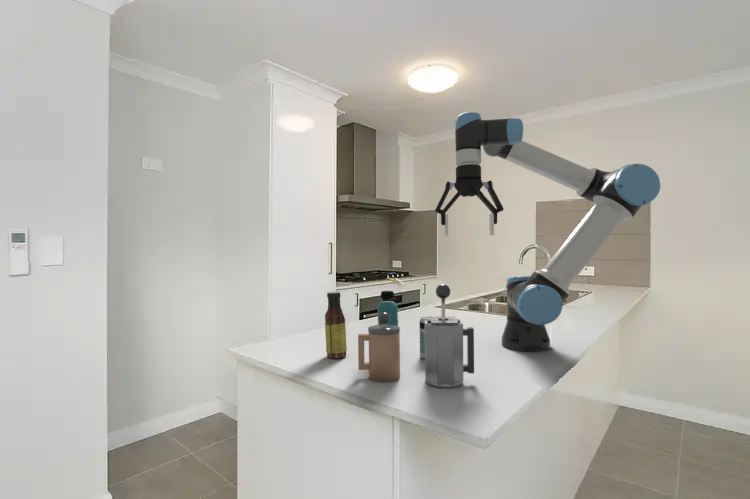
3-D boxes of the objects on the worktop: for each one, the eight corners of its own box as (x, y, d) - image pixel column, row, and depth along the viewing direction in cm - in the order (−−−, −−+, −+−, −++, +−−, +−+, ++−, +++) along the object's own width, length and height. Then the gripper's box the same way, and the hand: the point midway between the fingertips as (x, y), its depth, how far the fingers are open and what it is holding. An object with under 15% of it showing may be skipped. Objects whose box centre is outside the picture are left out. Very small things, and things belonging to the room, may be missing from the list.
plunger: (455, 359, 103) (454, 282, 103) (458, 367, 97) (457, 285, 96) (430, 359, 104) (429, 283, 103) (431, 366, 97) (430, 285, 97)
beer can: (437, 356, 123) (436, 317, 123) (434, 360, 118) (433, 320, 118) (421, 354, 124) (421, 316, 124) (418, 359, 120) (417, 319, 120)
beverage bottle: (397, 358, 121) (396, 292, 120) (375, 357, 122) (374, 292, 122) (400, 352, 127) (399, 289, 127) (379, 352, 128) (379, 289, 128)
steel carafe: (470, 376, 104) (470, 316, 104) (476, 389, 95) (476, 323, 95) (424, 375, 105) (424, 316, 105) (426, 388, 96) (425, 323, 96)
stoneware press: (400, 372, 108) (399, 309, 108) (400, 382, 100) (399, 315, 100) (360, 371, 109) (360, 309, 109) (357, 382, 101) (356, 315, 101)
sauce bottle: (350, 355, 125) (349, 291, 125) (340, 360, 119) (339, 293, 119) (332, 352, 128) (331, 290, 128) (321, 358, 122) (320, 293, 122)
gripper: (507, 166, 125) (507, 235, 125) (426, 169, 127) (427, 236, 127) (513, 162, 118) (514, 234, 118) (427, 164, 120) (428, 235, 120)
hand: (468, 235), depth 123 cm, fingers open, 13 cm apart
